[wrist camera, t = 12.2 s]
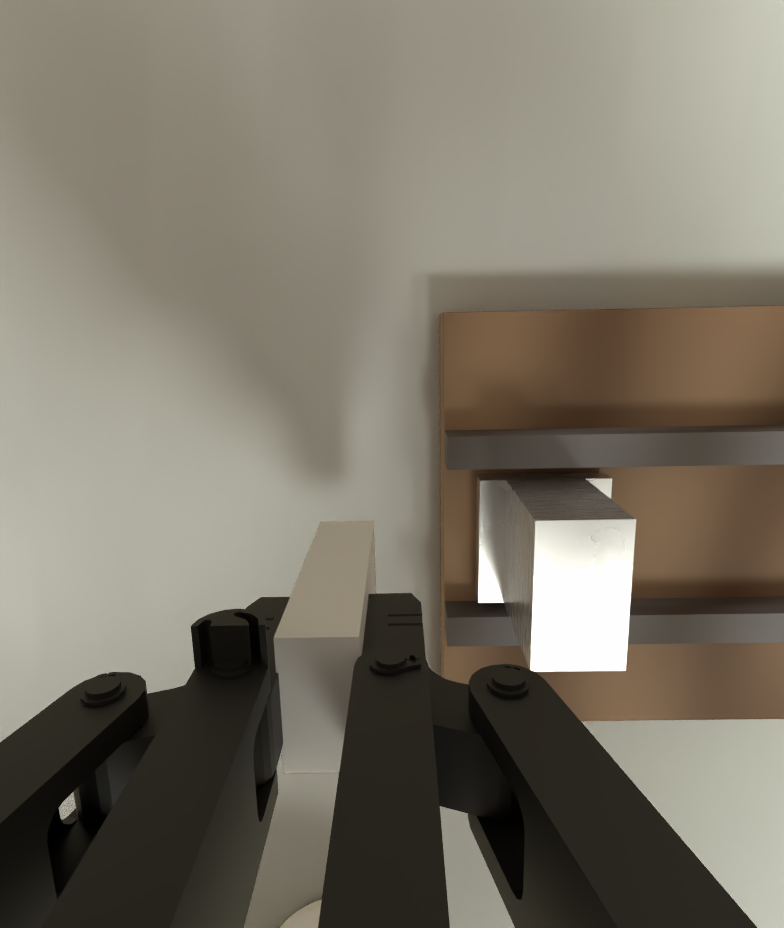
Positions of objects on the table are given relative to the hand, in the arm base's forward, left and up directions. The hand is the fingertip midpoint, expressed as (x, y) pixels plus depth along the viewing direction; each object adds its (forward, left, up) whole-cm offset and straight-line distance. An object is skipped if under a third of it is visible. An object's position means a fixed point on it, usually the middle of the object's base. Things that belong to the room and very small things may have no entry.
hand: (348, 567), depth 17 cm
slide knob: (-4, -4, -3) cm, 7 cm away
